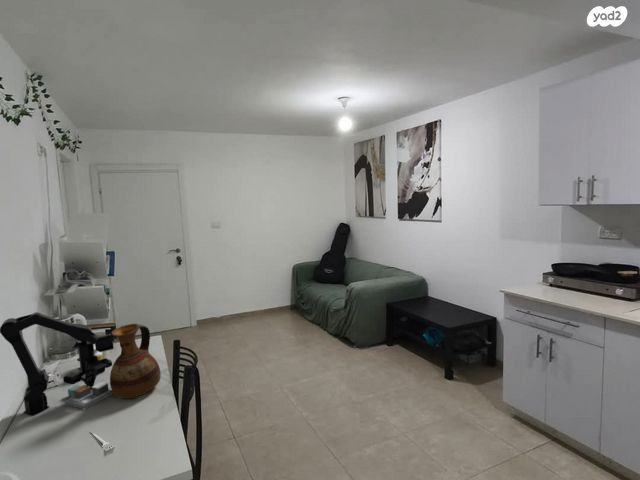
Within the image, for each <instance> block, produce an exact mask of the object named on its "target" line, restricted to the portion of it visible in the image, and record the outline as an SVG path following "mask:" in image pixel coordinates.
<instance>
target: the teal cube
mask: <svg viewBox="0 0 640 480" xmlns="http://www.w3.org/2000/svg"><path fill="white" fill-rule="evenodd" d="M81 386H82V385H79V384H78V385H77V384H75V385H74V386H72V387H70V388H68V389H67V395H68V398H72V397H74V389H76V388H78V387H81Z"/></svg>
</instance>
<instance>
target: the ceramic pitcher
mask: <svg viewBox="0 0 640 480" xmlns="http://www.w3.org/2000/svg"><path fill="white" fill-rule="evenodd" d="M138 330H140V335H141V341H140V346H139V347H138V345H137V343H136V334H137V332H138ZM111 336H114V337H115V338H117V339H118V341H119V346H120V349H121V351H120V354H119V356H117V358H116V359H115V360H114V362H113V363H112V366H111V369H110V374H109V385H110V388H111V389H110V390H112V391H113V394H114V395H115V396H116V397H117V398H121V399H129V398H135V397H138V396H141V395H145V394H146V393H147V392H149V391H150V390H152V389H154V388H155V387H156V386H157V385H158V384H159V383H160V380H161V379H162V378H161V377H162V375H161V373H162V371H161V368H160V366H159V363H158V361H157V360H156V358H155V357H154V356H153V355H152V354H151V352H150V351H149V347H150V342H151V341H150V340H151V334H150V329H149V327H147V325H144V324H138V323H130V324H124V325H121V326H120V327H117V328H115V329H114V330H112V331H111Z"/></svg>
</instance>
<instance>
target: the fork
mask: <svg viewBox="0 0 640 480" xmlns="http://www.w3.org/2000/svg"><path fill="white" fill-rule="evenodd" d="M93 435H94V436H95V437H96V438H97V439H98V440H99V441H100V442H101V443H102V444H103V445H102V444H101V443H100V442H99V441H98V440H97V439H96V438H95V437H94V436H93ZM93 435H92V436H93V437H94V438H95V439H96V440H97V441H98V442H99V443H100V444H101V445H102V447H103V446H104V445H106V444H109V443H110V442H108V441H105V440H104V439H102V438H101V437H100V436H98V435H97V434H96V433H94V434H93ZM102 447H101V448H102ZM115 447H116V445H114V446H112V447H111V446H110V448H109V447H108V449H106V450H105V451H104V452H107V451H110V450H111V449H113V448H115Z"/></svg>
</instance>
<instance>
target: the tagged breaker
mask: <svg viewBox="0 0 640 480" xmlns="http://www.w3.org/2000/svg"><path fill="white" fill-rule="evenodd" d="M80 386H81V387H78V388H76V389H74V397H75V398H79V399H81V398H83V397H85V396H87V395H89V394H91V390H90V386H86V384H83V385H80Z"/></svg>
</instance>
